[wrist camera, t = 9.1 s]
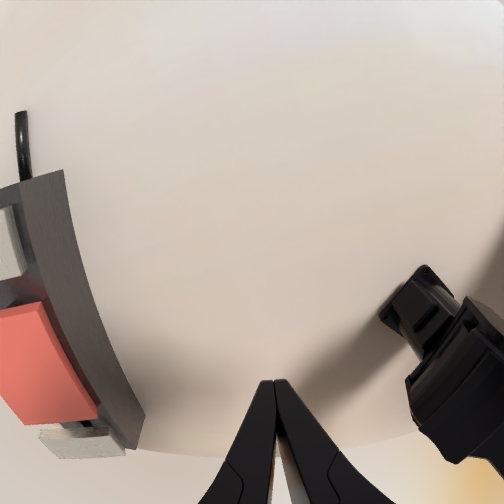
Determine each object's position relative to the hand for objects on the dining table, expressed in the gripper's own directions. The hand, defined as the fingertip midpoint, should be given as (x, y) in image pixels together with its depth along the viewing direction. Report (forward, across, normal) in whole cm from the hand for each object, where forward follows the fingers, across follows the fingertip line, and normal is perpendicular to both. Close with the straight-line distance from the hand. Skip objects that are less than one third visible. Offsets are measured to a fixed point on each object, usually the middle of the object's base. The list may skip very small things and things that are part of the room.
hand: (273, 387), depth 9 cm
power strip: (+13, +20, +4) cm, 24 cm away
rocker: (+5, +20, +7) cm, 22 cm away
